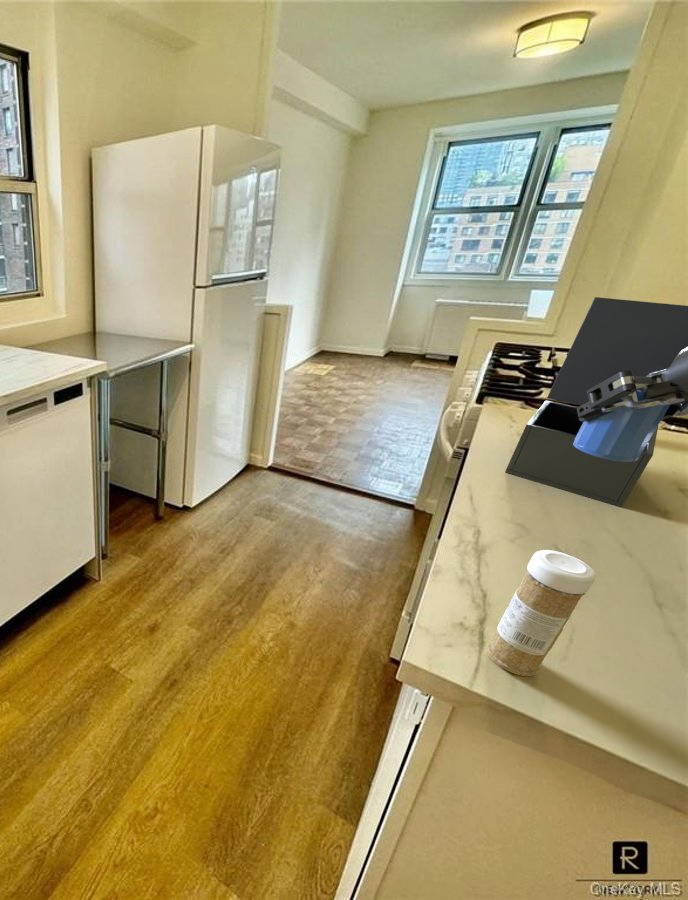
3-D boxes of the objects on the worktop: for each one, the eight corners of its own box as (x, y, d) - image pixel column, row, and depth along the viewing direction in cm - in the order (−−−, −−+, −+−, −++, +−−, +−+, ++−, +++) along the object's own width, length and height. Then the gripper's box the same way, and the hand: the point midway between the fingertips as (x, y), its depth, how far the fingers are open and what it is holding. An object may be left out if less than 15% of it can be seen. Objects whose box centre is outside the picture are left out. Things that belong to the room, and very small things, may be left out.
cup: (626, 446, 67) (658, 392, 63) (646, 466, 62) (681, 408, 58) (566, 437, 69) (593, 384, 66) (580, 455, 64) (610, 398, 61)
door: (724, 309, 79) (723, 309, 80) (594, 297, 90) (595, 297, 90) (660, 421, 86) (660, 421, 86) (546, 398, 96) (547, 398, 97)
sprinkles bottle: (543, 664, 52) (604, 566, 46) (528, 685, 50) (590, 585, 44) (492, 636, 55) (543, 542, 49) (476, 655, 53) (527, 558, 47)
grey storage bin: (621, 507, 80) (653, 454, 75) (504, 472, 90) (526, 424, 86) (630, 471, 91) (658, 423, 86) (525, 444, 101) (545, 400, 97)
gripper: (831, 326, 49) (664, 394, 65) (670, 320, 51) (545, 388, 67) (858, 392, 47) (678, 446, 63) (689, 384, 49) (555, 439, 65)
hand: (610, 416), depth 65 cm, fingers closed on cup, 6 cm apart
